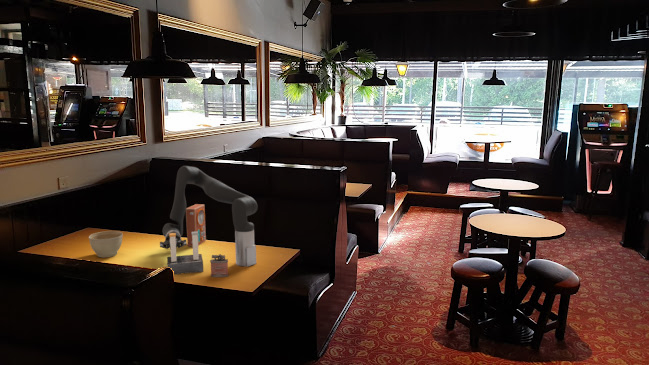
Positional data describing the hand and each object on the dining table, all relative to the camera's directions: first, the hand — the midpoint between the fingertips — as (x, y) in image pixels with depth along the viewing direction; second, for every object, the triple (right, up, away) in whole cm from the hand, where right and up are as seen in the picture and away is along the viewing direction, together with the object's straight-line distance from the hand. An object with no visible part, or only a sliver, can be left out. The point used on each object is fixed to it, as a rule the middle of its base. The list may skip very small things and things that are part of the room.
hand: (173, 248), depth 226 cm
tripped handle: (0, -6, 0) cm, 6 cm away
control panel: (-1, -4, +47) cm, 47 cm away
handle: (+10, -5, +2) cm, 12 cm away
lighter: (+23, -12, -5) cm, 26 cm away
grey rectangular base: (+4, -10, +4) cm, 12 cm away
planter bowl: (-43, -7, +26) cm, 51 cm away
